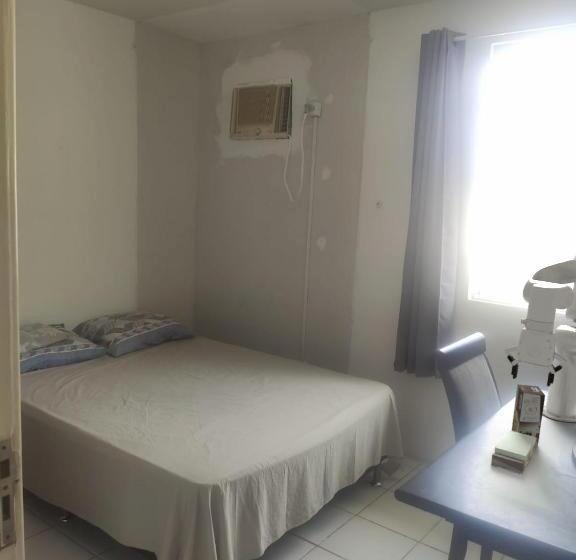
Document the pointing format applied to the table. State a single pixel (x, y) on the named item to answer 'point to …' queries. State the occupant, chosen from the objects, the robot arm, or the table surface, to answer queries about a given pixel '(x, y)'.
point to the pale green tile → (515, 445)
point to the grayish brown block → (510, 462)
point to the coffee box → (528, 411)
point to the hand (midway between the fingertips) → (531, 381)
